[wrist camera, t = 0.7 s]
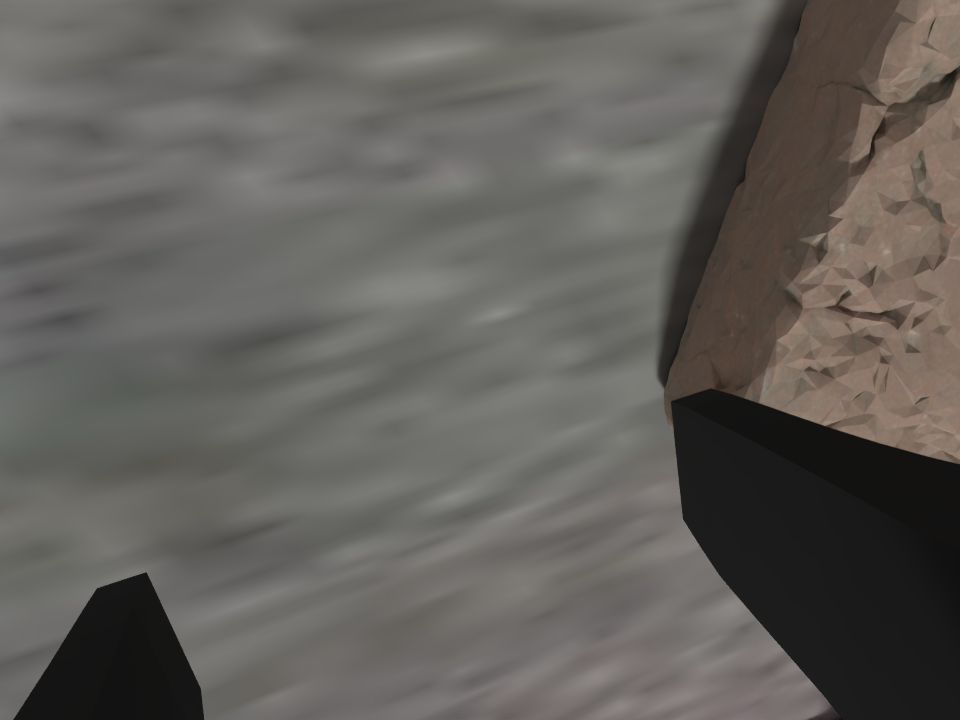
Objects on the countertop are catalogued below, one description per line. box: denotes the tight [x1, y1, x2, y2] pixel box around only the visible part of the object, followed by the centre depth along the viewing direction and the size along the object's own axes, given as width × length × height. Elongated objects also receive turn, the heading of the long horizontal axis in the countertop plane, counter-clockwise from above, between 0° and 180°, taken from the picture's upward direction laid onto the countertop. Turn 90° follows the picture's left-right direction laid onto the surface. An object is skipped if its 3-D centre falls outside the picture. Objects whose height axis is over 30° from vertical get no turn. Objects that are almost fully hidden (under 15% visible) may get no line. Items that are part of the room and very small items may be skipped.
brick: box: [664, 0, 960, 464], centre depth 21 cm, size 17×8×5 cm, turn 163°
